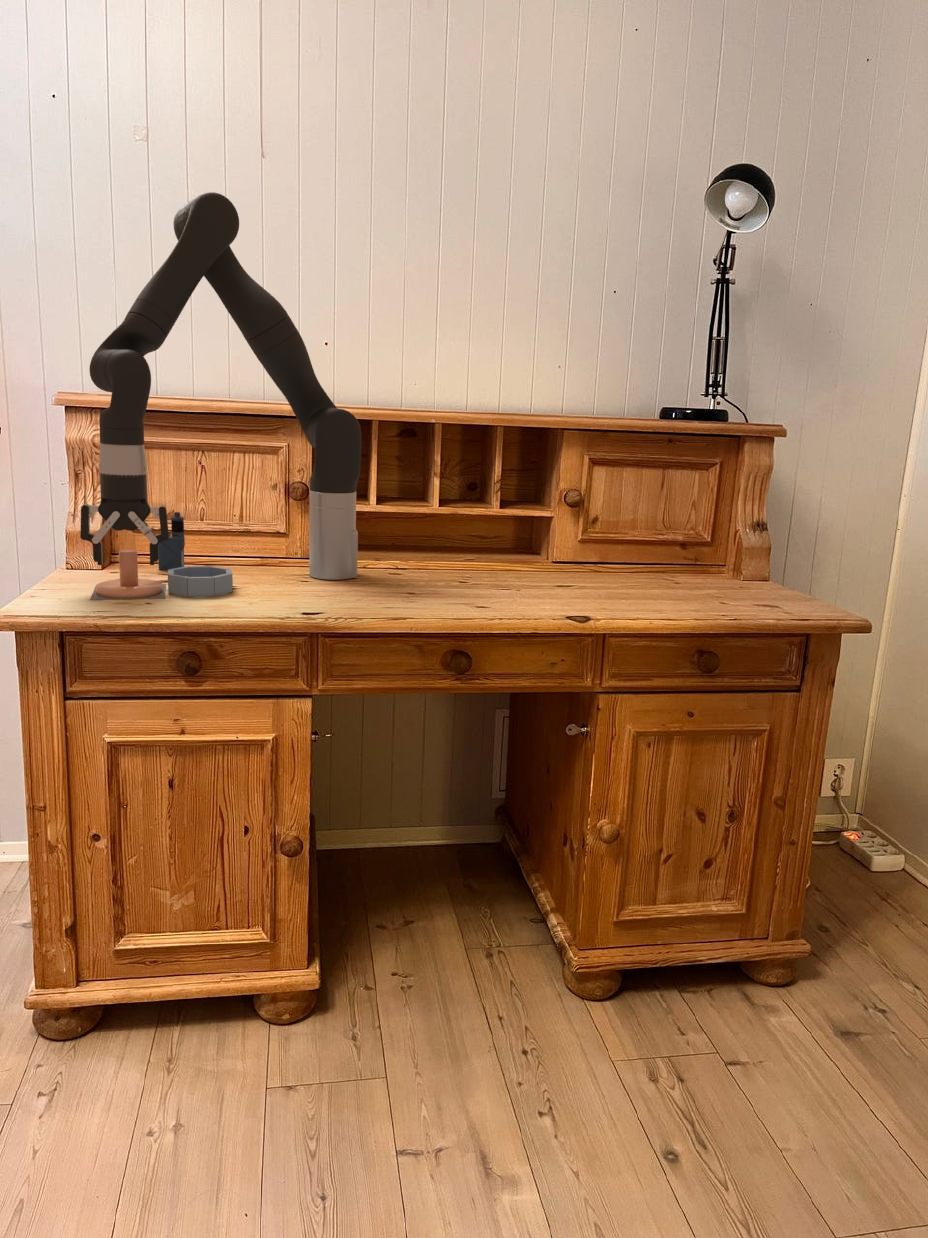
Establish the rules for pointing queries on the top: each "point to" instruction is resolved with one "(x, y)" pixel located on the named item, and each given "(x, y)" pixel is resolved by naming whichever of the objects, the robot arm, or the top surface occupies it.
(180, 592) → the bowl
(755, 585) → the top surface
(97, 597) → the mat
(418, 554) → the top surface
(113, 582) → the lid
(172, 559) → the vaping device
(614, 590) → the top surface
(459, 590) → the top surface
